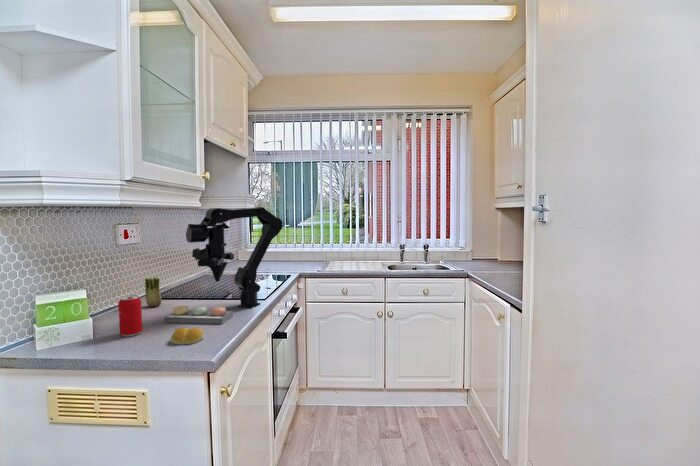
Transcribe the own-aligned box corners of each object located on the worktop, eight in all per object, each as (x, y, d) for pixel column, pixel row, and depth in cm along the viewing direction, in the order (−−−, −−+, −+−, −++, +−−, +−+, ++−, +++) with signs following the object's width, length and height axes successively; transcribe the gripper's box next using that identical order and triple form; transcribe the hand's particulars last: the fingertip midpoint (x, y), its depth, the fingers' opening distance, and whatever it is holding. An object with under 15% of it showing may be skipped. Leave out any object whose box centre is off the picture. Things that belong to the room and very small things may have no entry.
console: (178, 315, 134) (178, 309, 134) (232, 316, 132) (232, 310, 132) (164, 322, 125) (164, 316, 125) (222, 324, 123) (222, 318, 123)
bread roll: (200, 344, 106) (200, 331, 106) (168, 346, 104) (167, 333, 104) (206, 334, 114) (206, 322, 114) (176, 336, 112) (175, 324, 112)
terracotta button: (214, 311, 131) (214, 306, 131) (228, 312, 130) (227, 306, 130) (208, 315, 126) (208, 310, 126) (222, 316, 125) (221, 310, 125)
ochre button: (178, 310, 132) (177, 305, 132) (191, 311, 132) (190, 305, 131) (170, 314, 127) (170, 309, 127) (183, 315, 127) (183, 309, 126)
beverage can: (138, 329, 118) (136, 293, 118) (145, 333, 114) (144, 296, 114) (116, 334, 114) (114, 297, 113) (123, 339, 110) (122, 300, 109)
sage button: (196, 311, 131) (196, 306, 131) (209, 311, 131) (209, 306, 131) (189, 315, 126) (189, 309, 126) (202, 315, 126) (202, 310, 126)
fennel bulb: (144, 306, 146) (142, 277, 145) (155, 304, 150) (154, 275, 149) (152, 308, 143) (151, 279, 142) (164, 306, 147) (163, 277, 146)
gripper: (207, 238, 146) (208, 276, 147) (182, 243, 128) (184, 286, 129) (234, 238, 145) (235, 276, 146) (212, 243, 127) (214, 286, 128)
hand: (217, 281), depth 137 cm, fingers closed
